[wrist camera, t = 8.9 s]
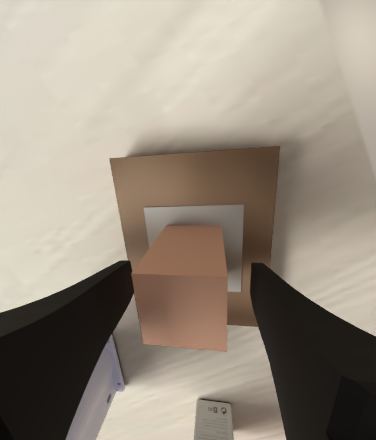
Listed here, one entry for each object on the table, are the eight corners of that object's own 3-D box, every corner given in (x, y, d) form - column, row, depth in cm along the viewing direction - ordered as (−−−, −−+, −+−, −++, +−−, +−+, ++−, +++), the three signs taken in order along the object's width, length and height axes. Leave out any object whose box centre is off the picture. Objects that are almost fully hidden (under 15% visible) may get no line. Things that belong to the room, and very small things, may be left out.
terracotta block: (221, 274, 14) (226, 351, 8) (170, 272, 15) (143, 344, 9) (221, 225, 13) (227, 276, 7) (166, 225, 13) (131, 273, 8)
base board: (258, 308, 17) (264, 328, 15) (146, 302, 19) (138, 320, 17) (270, 148, 13) (280, 145, 11) (123, 158, 14) (108, 158, 12)
